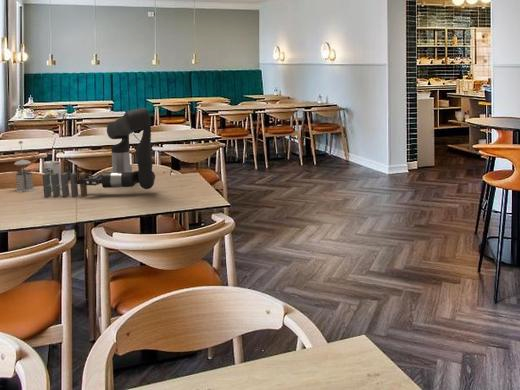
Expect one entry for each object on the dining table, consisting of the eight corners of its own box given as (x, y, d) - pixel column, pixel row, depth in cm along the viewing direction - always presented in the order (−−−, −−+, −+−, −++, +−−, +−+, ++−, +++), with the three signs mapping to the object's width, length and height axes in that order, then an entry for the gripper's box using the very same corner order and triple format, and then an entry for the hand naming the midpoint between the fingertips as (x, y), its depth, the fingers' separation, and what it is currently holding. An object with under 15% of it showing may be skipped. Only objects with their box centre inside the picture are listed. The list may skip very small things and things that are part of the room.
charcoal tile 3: (69, 194, 274) (67, 172, 271) (66, 197, 269) (64, 174, 266) (65, 194, 274) (63, 172, 271) (62, 197, 269) (60, 174, 266)
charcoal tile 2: (78, 194, 274) (76, 172, 272) (75, 196, 269) (73, 174, 267) (74, 194, 274) (72, 172, 272) (71, 197, 269) (69, 174, 267)
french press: (34, 187, 293) (30, 139, 288) (36, 191, 283) (32, 141, 278) (14, 188, 289) (9, 140, 284) (15, 193, 279) (10, 142, 274)
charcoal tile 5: (51, 195, 273) (49, 173, 271) (48, 197, 268) (46, 174, 266) (47, 195, 273) (45, 173, 271) (44, 197, 268) (42, 174, 266)
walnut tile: (87, 194, 274) (85, 172, 272) (84, 196, 269) (83, 174, 267) (83, 194, 274) (81, 172, 272) (80, 196, 269) (79, 174, 267)
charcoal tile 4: (60, 195, 274) (58, 172, 271) (57, 197, 269) (55, 174, 266) (56, 195, 273) (54, 172, 271) (53, 197, 269) (51, 174, 266)
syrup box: (45, 190, 285) (42, 161, 282) (54, 188, 290) (52, 160, 287) (53, 191, 283) (50, 162, 279) (62, 189, 288) (60, 161, 285)
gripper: (115, 169, 277) (80, 170, 276) (109, 174, 263) (72, 175, 262) (116, 184, 279) (82, 185, 278) (110, 190, 265) (74, 191, 264)
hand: (77, 180), depth 270 cm, fingers open, 6 cm apart
